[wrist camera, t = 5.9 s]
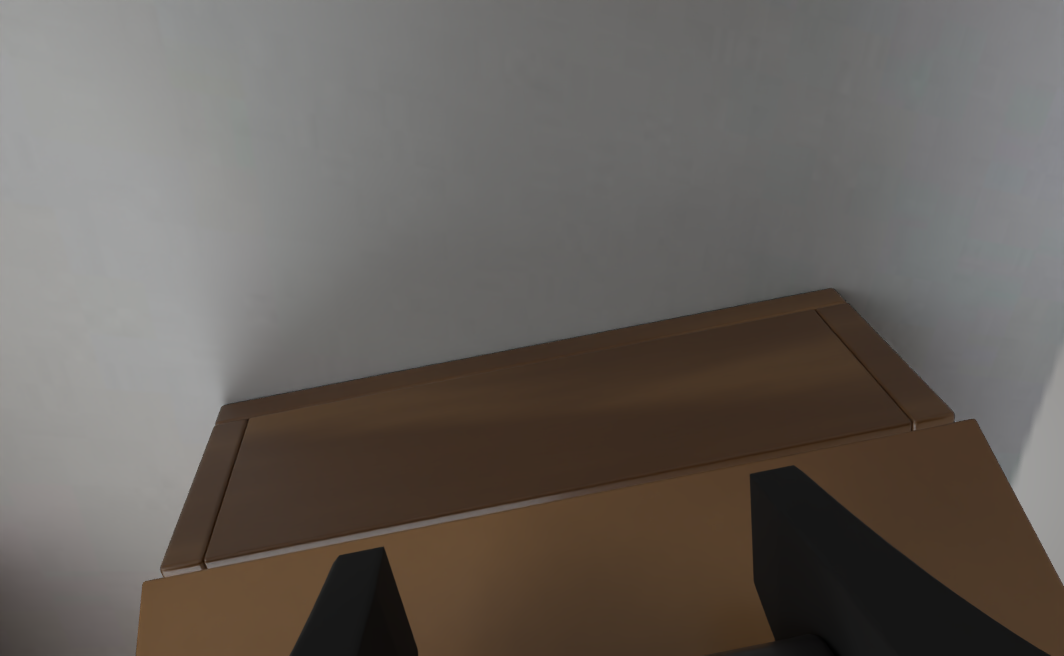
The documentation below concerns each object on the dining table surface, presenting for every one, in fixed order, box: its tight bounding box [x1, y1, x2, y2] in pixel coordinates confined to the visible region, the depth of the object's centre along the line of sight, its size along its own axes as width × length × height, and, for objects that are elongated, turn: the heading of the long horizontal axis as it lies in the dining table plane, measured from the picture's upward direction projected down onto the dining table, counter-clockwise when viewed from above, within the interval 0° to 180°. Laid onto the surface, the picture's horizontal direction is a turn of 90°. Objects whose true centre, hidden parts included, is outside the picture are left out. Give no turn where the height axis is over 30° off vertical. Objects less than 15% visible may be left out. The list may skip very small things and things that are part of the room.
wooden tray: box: [160, 288, 955, 577], centre depth 20 cm, size 12×15×5 cm
